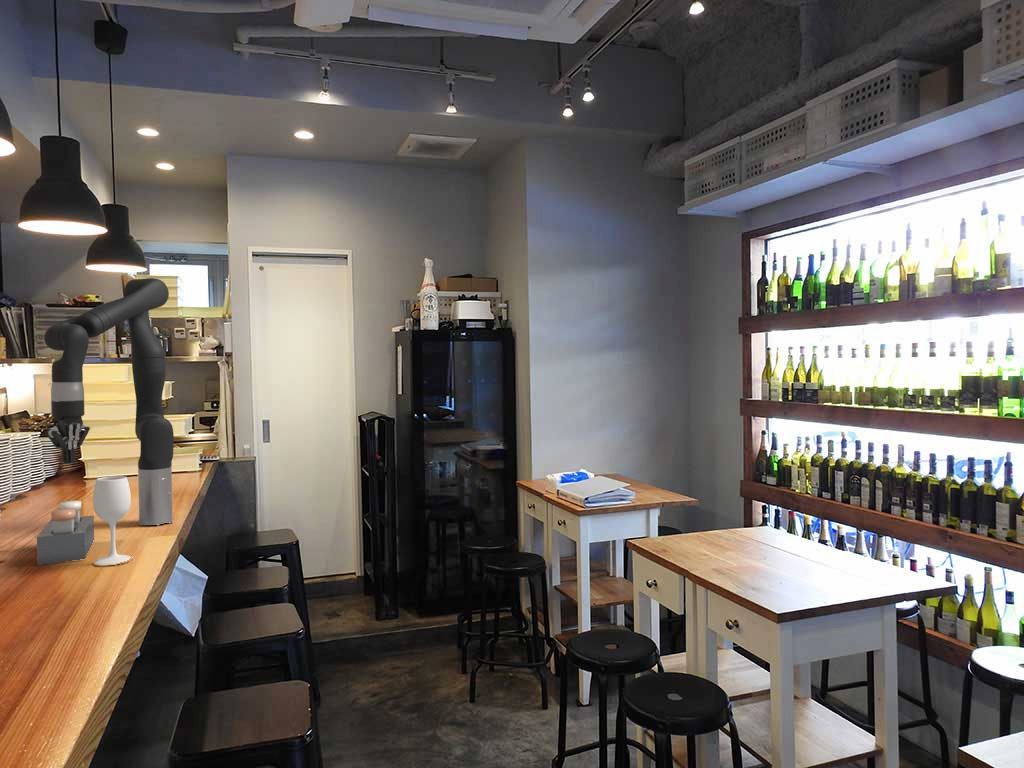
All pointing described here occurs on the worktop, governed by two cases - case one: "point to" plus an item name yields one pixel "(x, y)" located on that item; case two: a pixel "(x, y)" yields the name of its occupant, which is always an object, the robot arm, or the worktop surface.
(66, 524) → the plunger
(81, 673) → the worktop surface
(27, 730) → the worktop surface
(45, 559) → the plunger panel
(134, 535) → the worktop surface
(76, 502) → the white ball knob
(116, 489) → the wineglass
